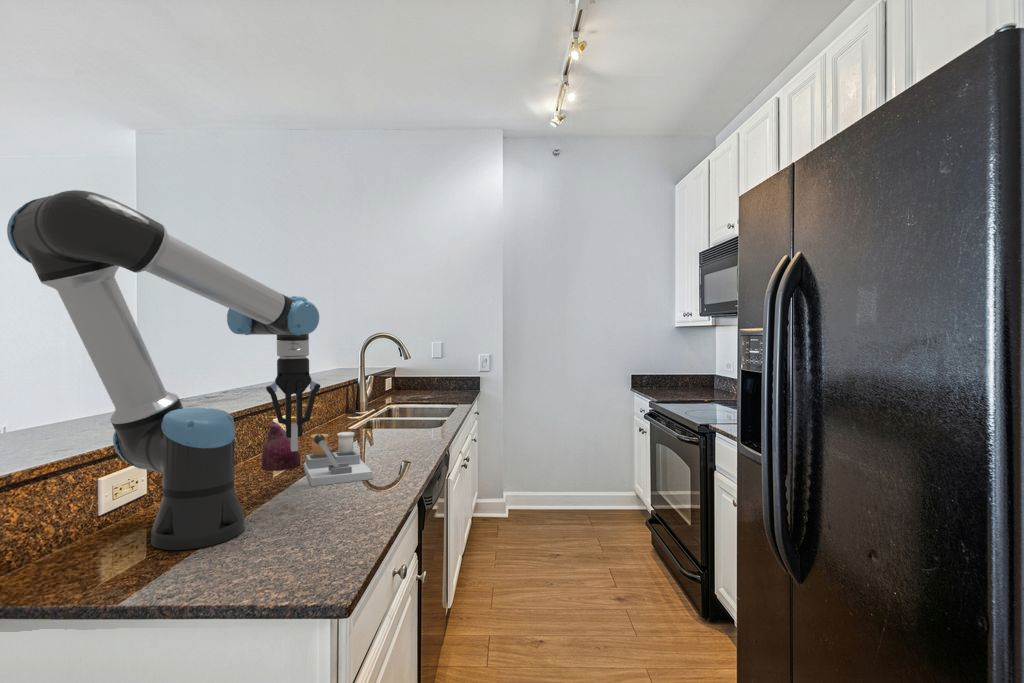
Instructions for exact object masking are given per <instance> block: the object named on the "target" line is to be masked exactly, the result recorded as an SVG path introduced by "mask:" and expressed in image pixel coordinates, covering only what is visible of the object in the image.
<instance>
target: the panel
mask: <svg viewBox="0 0 1024 683" xmlns="http://www.w3.org/2000/svg"><path fill="white" fill-rule="evenodd" d="M331 453H332V455H333V456H334V458H335V460H336V461H337V463H338V464H339V466H340V467H339V468H335V467H334V466H333V464H332V463H331V461H330V460H329V458H328V457H327V455H326V454H323V455H312V454H306V455H305V462H304V463H303V471H304V473H305V475H306V478H307V479H308V482H309V484H310V486H311V487H317V486H326V485H336V484H342V483H351V482H353V483H354V482H360V481H369V480H373V471H372V469H370V468H369V466H367V464H366V463H365V462H364V461H363V460H362V459H361V456H360V455H361V454H359V453H358V451H357V450H354V449H353V451H352V452H345V453H342V452H338V451H334V452H331Z"/></svg>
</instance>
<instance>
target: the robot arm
mask: <svg viewBox="0 0 1024 683" xmlns="http://www.w3.org/2000/svg"><path fill="white" fill-rule="evenodd" d="M6 227H7V228H6V235H7V239H8V242H9V243H10V246H11V248H12V249H13V250H14V252H15V253H16V254H17V255H18V256H19V257H21V258H22V259H23V260H24V261H26V262H28V263H29V264H31V266H32V267H33V270H34V271H35V273H36V276H37V277H38V280H39V281H40V284H42V285H44V286H47V287H50V288H52V289H54V290H55V291H56V292H57V293H58V295H59V297H60V299H61V301H62V303H63V305H64V308H65V310H66V311H67V314H68V315H69V317H70V319H71V321H72V323H73V326H74V327H75V329H76V332H77V334H78V336H79V337H80V340H81V342H82V344H83V346H84V348H85V349H86V352H87V354H88V355H89V357H90V359H91V362H92V364H93V366H94V368H95V371H96V372H97V374H98V376H99V378H100V379H101V380H100V381H101V382H102V384H103V386H104V388H105V391H106V392H107V394H108V396H109V398H110V401H111V402H112V404H113V406H114V409H115V410H114V411H113V414H112V415H111V416H110V419H109V420H110V422H111V424H112V427H113V429H114V431H115V432H114V433H113V436H112V437H113V438H112V441H113V442H112V443H113V447H114V450H115V452H116V454H117V455H118V456H119V458H121V459H122V460H123V461H124V462H125V463H127V464H129V465H130V466H133V467H135V468H138V469H139V470H145V471H146V470H147V471H152V472H155V473H156V472H157V473H160V474H162V500H161V503H160V506H159V508H158V512H157V514H156V517H155V519H154V521H153V525H152V528H151V532H150V533H151V534H150V536H151V537H150V544H151V546H152V547H153V548H156V549H159V550H165V551H186V550H194V549H200V548H206V547H211V546H213V545H219V544H221V543H225V542H227V541H229V540H231V539H234V538H236V537H238V536H239V535H241V533H243V531H244V530H245V515H244V511H243V509H242V506H241V503H240V501H239V499H238V495H237V493H236V490H235V489H236V488H235V453H236V452H235V451H236V450H235V449H236V448H235V444H236V443H235V438H236V436H237V434H236V430H235V421H234V417H233V416H232V414H230V413H229V412H227V411H225V410H221V409H219V408H212V407H211V408H207V407H185V408H184V407H183V404H182V402H181V401H180V397H179V396H178V394H176V393H173V392H170V391H167V390H166V388H165V386H164V384H163V382H162V380H161V378H160V375H159V372H158V371H157V368H156V366H155V363H154V362H153V360H152V357H151V356H150V353H149V351H148V348H147V347H146V346H147V345H146V344H145V342H144V340H143V337H142V335H141V333H140V331H139V328H138V326H137V324H136V322H135V319H134V317H133V315H132V313H131V310H130V309H129V306H128V304H127V301H126V300H125V298H124V295H123V293H122V290H121V288H120V287H119V284H118V281H117V280H116V277H115V275H116V273H117V272H118V270H119V268H123V269H126V270H127V271H130V272H133V273H137V274H139V273H141V272H147V273H149V274H151V275H153V276H155V277H158V278H160V279H162V280H165V281H166V282H169V283H171V284H174V285H176V286H179V287H180V288H183V289H185V290H187V291H189V292H192V293H194V294H196V295H198V296H200V297H203V298H205V299H207V300H210V301H212V302H214V303H216V304H219V305H221V306H223V307H225V308H228V310H227V314H226V322H227V323H226V324H227V326H228V328H229V330H230V331H231V332H232V333H233V334H235V335H242V336H243V335H245V336H250V335H252V336H253V335H257V336H258V335H261V336H262V335H264V336H265V335H269V336H270V335H276V357H279V358H277V359H276V372H277V373H276V377H275V379H274V382H272V383H271V384H269V385H267V386H265V390H266V392H268V394H269V395H270V398H271V400H272V404H273V408H274V412H275V414H276V418H277V421H278V422H277V423H278V424H279V425H280V424H282V425H284V426H285V431H286V437H287V438H291V451H299V438H301V437H302V436H303V425H304V423H307V422H309V421H310V420H311V417H312V413H313V409H314V406H315V400H316V395H317V393H318V391H319V390H320V389H321V384H320V383H318V382H315V381H313V380H312V377H311V375H310V359H309V357H308V356H309V355H310V342H309V341H310V340H309V339H310V334H312V333H313V332H314V331H315V330H317V328H318V326H319V322H320V312H319V310H318V308H317V307H316V305H315V304H314V303H312V302H311V301H308V299H307V298H306V297H304V296H300V295H297V296H296V295H285V294H283V293H281V292H278V291H277V290H275V289H273V288H271V287H270V286H268V285H265V284H264V283H261V282H260V281H257V280H256V279H254V278H252V277H250V276H248V275H246V274H244V273H242V272H241V271H239V270H237V269H235V268H233V267H231V266H230V265H227V264H226V263H224V262H222V261H220V260H218V259H216V258H214V257H212V256H210V255H208V254H206V253H205V252H203V251H201V250H199V249H197V248H195V247H193V246H192V245H189V244H188V243H185V242H183V241H182V240H180V239H178V238H176V237H174V236H172V235H171V234H168V232H167V231H168V230H167V228H166V226H165V225H164V224H162V223H160V222H158V221H156V220H154V219H153V218H151V217H149V216H147V215H145V214H143V213H142V212H139V211H137V210H135V209H134V208H132V207H129V206H128V205H126V204H123V203H121V202H120V201H117V200H115V199H113V198H111V197H109V196H105V195H103V194H100V193H96V192H93V191H88V190H80V189H79V190H78V189H74V190H72V189H71V190H65V191H61V192H58V193H55V194H53V195H48V196H43V197H40V198H35V199H32V200H31V199H30V201H28V202H26V203H24V204H22V206H20V207H19V208H18V209H16V210H15V211H14V212H13V213H12V214H11V216H10V218H9V220H8V223H7V226H6ZM308 387H309V389H310V392H309V396H308V399H307V404H306V408H305V412H304V416H303V393H304V392H305V391H306V390H307V388H308ZM278 388H279V389H280V390H281V392H282V393H283V394H284V397H285V398H284V399H285V401H284V403H285V404H284V405H285V407H284V409H285V410H284V411H285V417H284V418H283V414H282V410H281V407H280V403H279V399H278V396H277V394H276V392H277V391H278ZM292 395H295V400H296V401H295V402H296V403H295V404H296V406H295V407H296V409H295V410H296V417H295V418H296V423H292Z"/></svg>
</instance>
